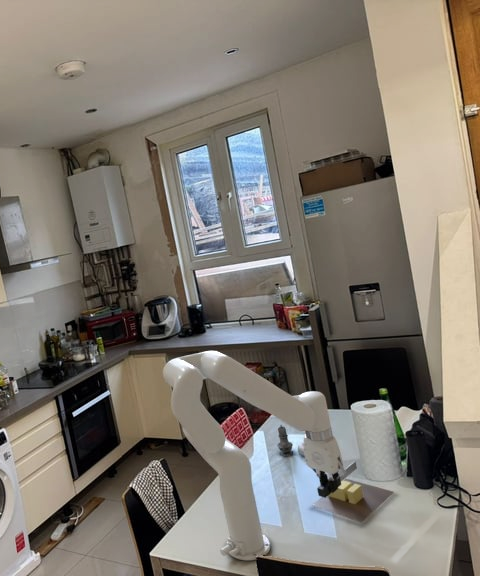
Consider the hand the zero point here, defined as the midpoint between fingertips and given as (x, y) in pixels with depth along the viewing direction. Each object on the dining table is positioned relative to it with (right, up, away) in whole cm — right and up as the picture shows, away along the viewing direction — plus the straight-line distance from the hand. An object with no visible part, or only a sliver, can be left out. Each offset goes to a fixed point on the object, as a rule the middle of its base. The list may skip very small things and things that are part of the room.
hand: (329, 488), depth 155 cm
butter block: (+8, -6, +9) cm, 13 cm away
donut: (+13, -3, +43) cm, 45 cm away
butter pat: (+11, -5, +5) cm, 13 cm away
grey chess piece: (+4, -4, +46) cm, 47 cm away
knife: (+4, +1, +3) cm, 5 cm away
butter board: (+10, -7, +6) cm, 13 cm away
